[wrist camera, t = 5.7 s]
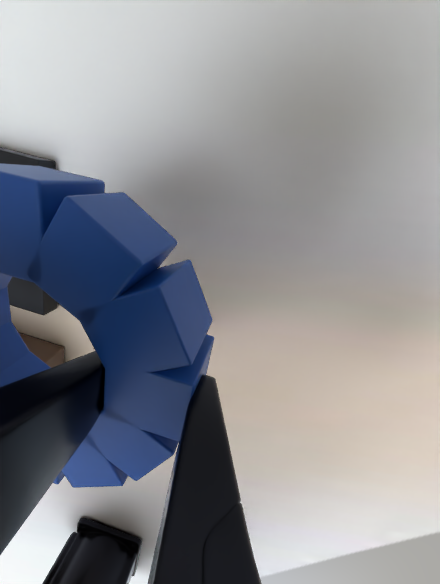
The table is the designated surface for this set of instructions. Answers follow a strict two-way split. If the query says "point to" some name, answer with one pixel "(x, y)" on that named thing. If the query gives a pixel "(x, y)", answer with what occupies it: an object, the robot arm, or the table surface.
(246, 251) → the table surface
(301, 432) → the table surface
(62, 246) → the ring
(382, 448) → the table surface
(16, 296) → the peg stand
